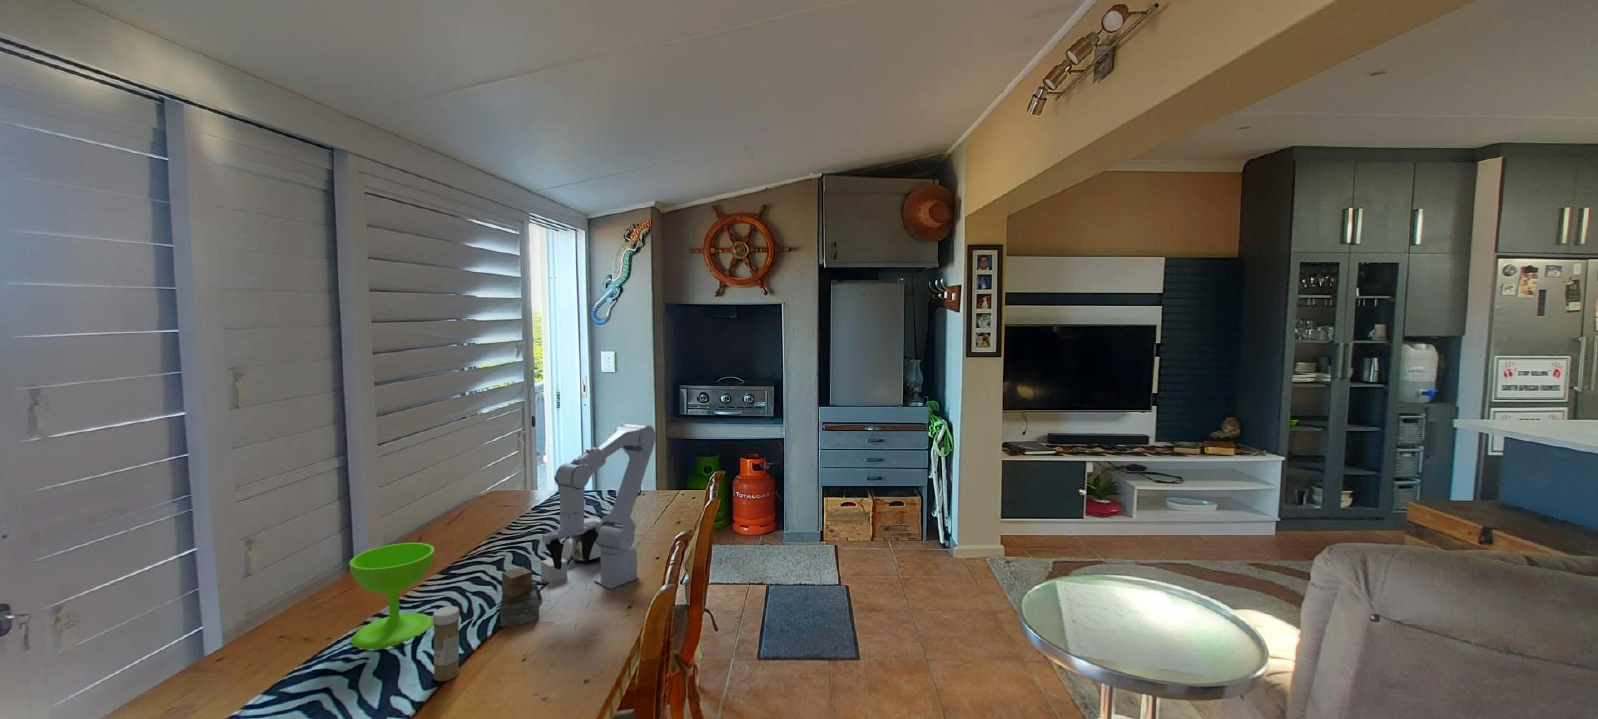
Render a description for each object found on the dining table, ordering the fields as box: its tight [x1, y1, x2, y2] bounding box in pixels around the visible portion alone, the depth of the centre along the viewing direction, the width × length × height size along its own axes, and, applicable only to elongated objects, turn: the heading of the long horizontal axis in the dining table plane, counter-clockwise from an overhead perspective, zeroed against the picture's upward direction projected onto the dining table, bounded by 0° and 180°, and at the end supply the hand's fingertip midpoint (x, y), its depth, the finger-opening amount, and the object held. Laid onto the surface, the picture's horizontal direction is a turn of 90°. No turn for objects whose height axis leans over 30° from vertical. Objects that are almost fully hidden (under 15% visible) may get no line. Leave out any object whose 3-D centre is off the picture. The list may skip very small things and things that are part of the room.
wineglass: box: [348, 542, 435, 650], centre depth 135 cm, size 16×16×18 cm
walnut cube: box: [501, 566, 533, 598], centre depth 147 cm, size 5×5×5 cm
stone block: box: [500, 580, 543, 628], centre depth 147 cm, size 9×14×5 cm, turn 24°
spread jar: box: [562, 517, 602, 565], centre depth 180 cm, size 12×11×12 cm
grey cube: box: [540, 557, 568, 584], centre depth 167 cm, size 5×5×5 cm
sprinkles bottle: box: [432, 605, 460, 682], centre depth 119 cm, size 5×5×13 cm
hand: (571, 563), depth 151 cm, fingers open, 7 cm apart
